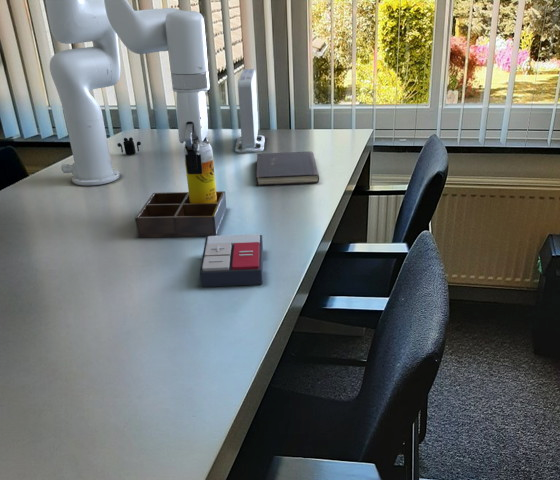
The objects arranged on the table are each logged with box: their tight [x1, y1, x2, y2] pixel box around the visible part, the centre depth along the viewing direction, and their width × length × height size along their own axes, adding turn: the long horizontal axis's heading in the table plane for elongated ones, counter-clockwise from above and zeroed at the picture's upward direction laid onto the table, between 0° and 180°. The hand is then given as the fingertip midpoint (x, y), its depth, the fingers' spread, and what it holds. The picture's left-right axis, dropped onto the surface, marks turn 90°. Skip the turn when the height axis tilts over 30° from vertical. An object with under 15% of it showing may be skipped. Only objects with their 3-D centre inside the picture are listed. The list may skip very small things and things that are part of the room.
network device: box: [234, 68, 266, 154], centre depth 189 cm, size 26×9×20 cm, turn 179°
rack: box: [134, 190, 228, 238], centre depth 137 cm, size 17×17×4 cm
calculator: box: [199, 233, 264, 288], centre depth 115 cm, size 11×4×15 cm
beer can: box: [183, 140, 217, 204], centre depth 136 cm, size 6×6×15 cm
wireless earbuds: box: [117, 136, 142, 156], centre depth 188 cm, size 7×2×5 cm, turn 99°
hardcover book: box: [255, 150, 320, 187], centre depth 167 cm, size 16×23×2 cm
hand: (198, 167), depth 135 cm, fingers open, 9 cm apart
